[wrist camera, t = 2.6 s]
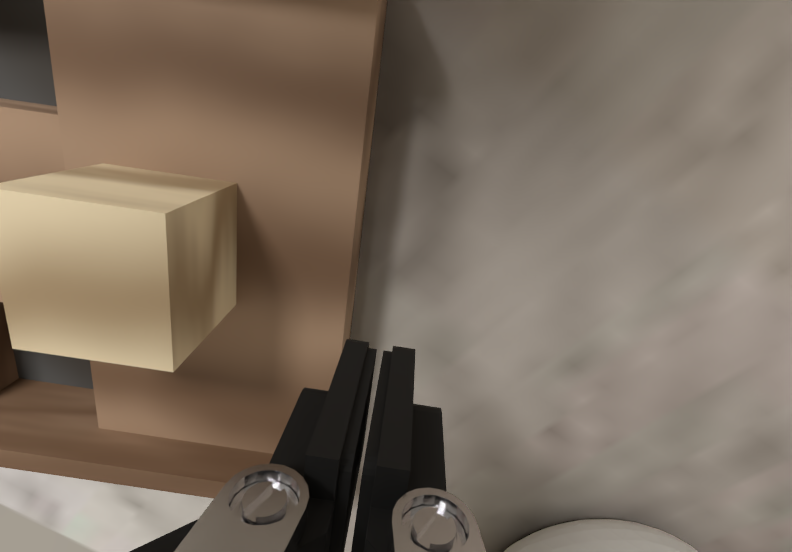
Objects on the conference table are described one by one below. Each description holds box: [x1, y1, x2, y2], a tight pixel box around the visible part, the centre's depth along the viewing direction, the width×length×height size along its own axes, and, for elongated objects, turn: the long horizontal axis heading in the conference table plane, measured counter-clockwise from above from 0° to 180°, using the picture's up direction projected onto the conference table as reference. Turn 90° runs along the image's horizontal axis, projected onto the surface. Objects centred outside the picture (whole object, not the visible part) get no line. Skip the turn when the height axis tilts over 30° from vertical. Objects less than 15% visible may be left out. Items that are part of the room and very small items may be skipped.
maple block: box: [0, 163, 237, 372], centre depth 15 cm, size 5×5×5 cm
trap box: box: [0, 0, 387, 498], centre depth 18 cm, size 22×28×5 cm
